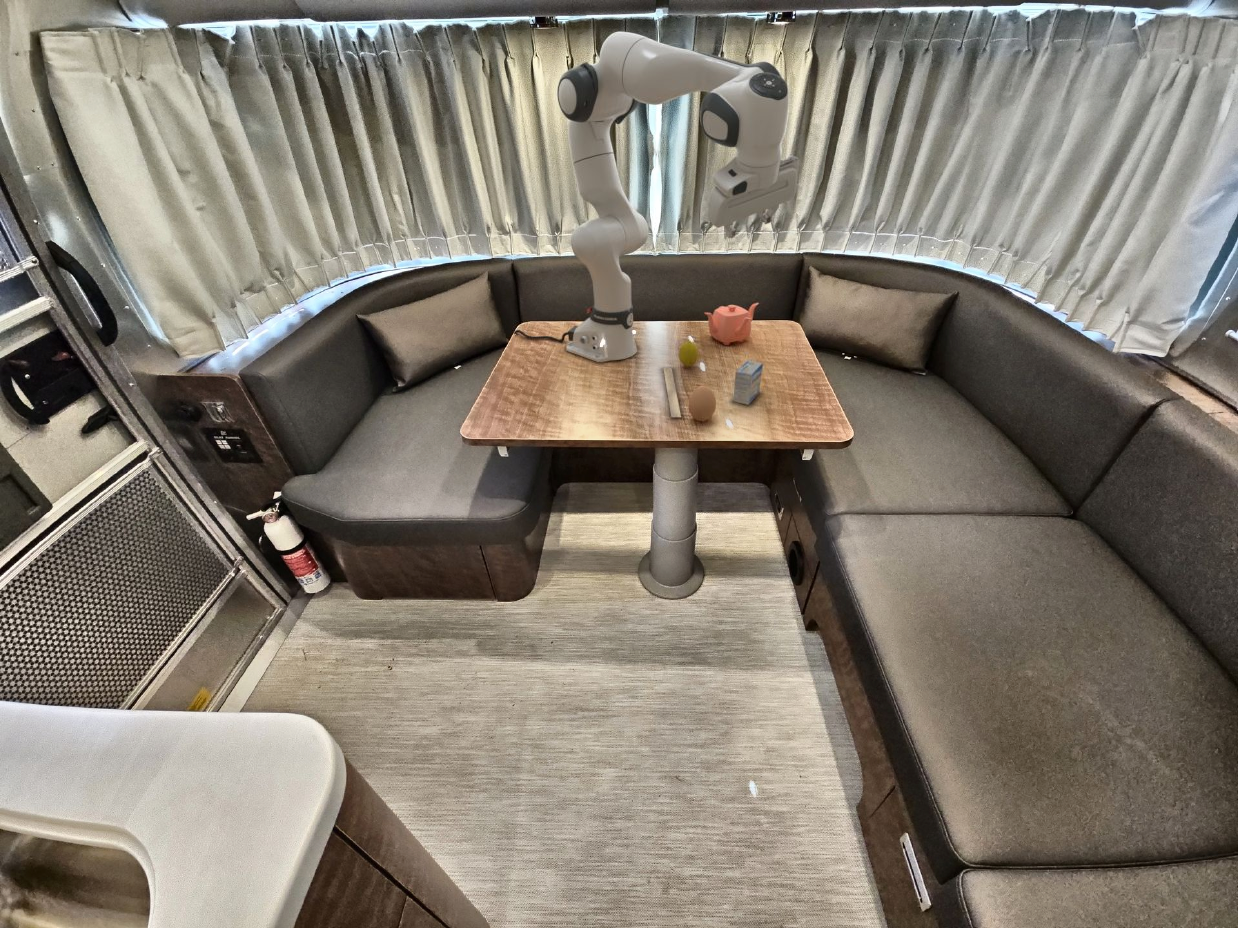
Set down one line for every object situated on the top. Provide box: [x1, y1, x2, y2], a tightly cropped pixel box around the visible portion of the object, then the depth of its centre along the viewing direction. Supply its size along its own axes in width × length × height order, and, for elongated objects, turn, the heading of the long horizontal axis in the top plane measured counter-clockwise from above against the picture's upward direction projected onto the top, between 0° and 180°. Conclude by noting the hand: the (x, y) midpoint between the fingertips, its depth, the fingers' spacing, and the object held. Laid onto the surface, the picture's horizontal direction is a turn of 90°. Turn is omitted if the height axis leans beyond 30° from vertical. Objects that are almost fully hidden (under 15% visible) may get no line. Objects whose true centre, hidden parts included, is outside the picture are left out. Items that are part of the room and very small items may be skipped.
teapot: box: [704, 302, 759, 346], centre depth 169 cm, size 14×14×11 cm
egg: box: [687, 385, 717, 422], centre depth 129 cm, size 7×7×9 cm
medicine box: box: [732, 360, 764, 406], centre depth 137 cm, size 8×4×9 cm, turn 148°
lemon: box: [678, 340, 699, 368], centre depth 153 cm, size 6×6×8 cm
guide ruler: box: [662, 367, 682, 419], centre depth 143 cm, size 2×28×1 cm, turn 0°
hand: (748, 229), depth 121 cm, fingers open, 8 cm apart
